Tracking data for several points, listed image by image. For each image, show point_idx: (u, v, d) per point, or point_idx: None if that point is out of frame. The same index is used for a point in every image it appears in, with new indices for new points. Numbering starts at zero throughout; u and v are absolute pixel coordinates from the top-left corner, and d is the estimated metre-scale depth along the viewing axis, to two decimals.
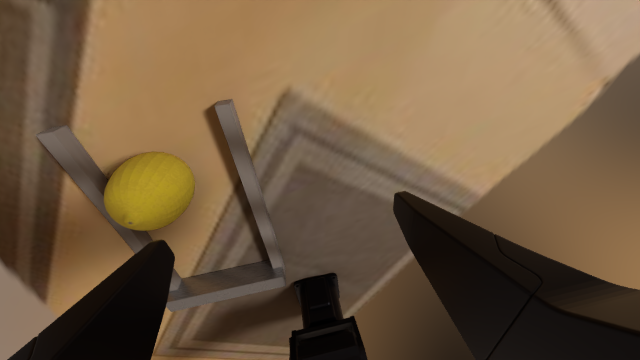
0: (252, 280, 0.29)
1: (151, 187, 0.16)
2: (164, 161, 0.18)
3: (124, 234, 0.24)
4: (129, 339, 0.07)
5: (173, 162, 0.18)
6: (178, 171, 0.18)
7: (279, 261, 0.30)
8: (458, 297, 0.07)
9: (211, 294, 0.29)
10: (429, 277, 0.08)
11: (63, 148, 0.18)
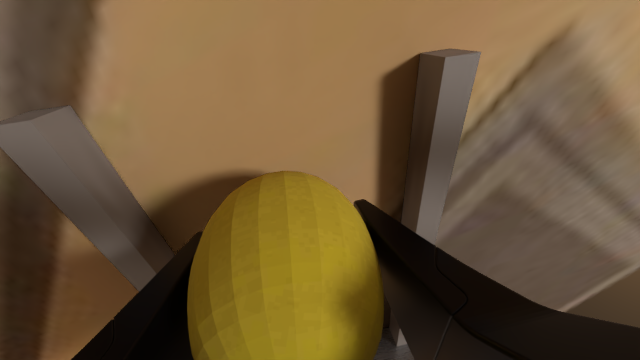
0: None
1: (355, 302, 0.05)
2: (335, 200, 0.07)
3: None
4: None
5: (346, 201, 0.07)
6: (364, 226, 0.07)
7: None
8: (403, 310, 0.07)
9: None
10: None
11: (60, 165, 0.07)
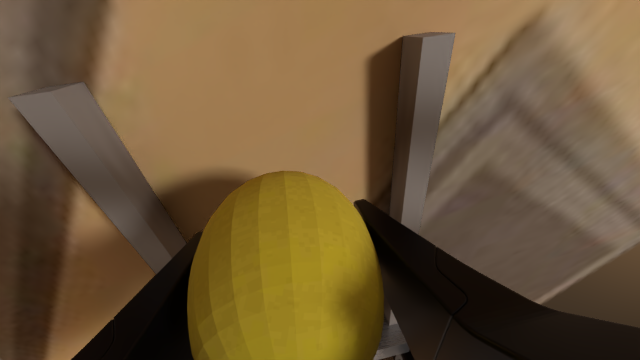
0: None
1: (355, 302, 0.05)
2: (335, 200, 0.07)
3: None
4: None
5: (346, 201, 0.07)
6: (364, 226, 0.07)
7: None
8: (404, 310, 0.07)
9: None
10: (383, 288, 0.08)
11: (76, 134, 0.08)
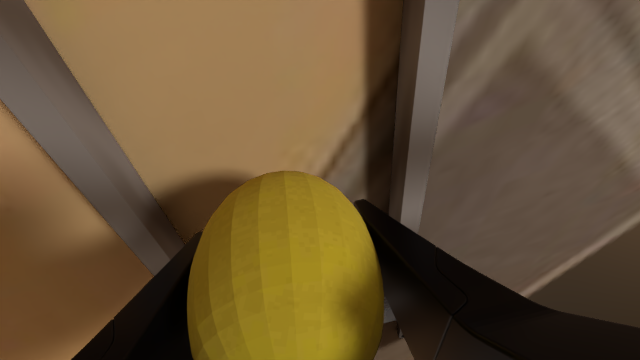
0: None
1: (355, 302, 0.05)
2: (335, 200, 0.07)
3: (111, 213, 0.10)
4: None
5: (346, 201, 0.07)
6: (364, 226, 0.07)
7: None
8: (403, 310, 0.07)
9: None
10: None
11: None
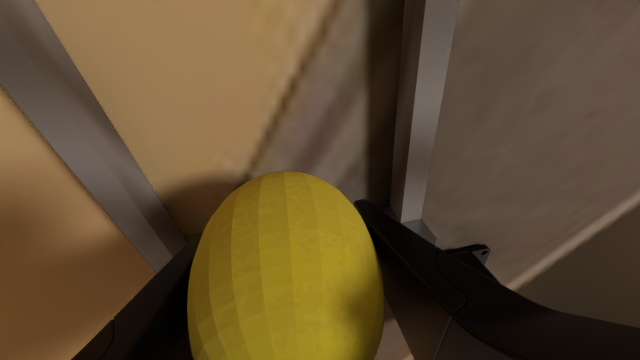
0: None
1: (355, 303, 0.05)
2: (335, 200, 0.07)
3: None
4: None
5: (346, 201, 0.07)
6: (364, 226, 0.07)
7: (420, 204, 0.13)
8: (403, 310, 0.07)
9: None
10: None
11: None
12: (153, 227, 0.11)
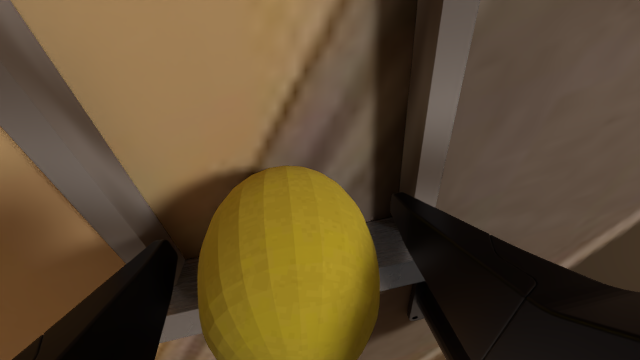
0: None
1: (353, 283, 0.05)
2: (334, 192, 0.07)
3: None
4: (134, 338, 0.07)
5: (345, 193, 0.08)
6: (361, 216, 0.07)
7: None
8: (454, 298, 0.07)
9: None
10: (426, 278, 0.08)
11: None
12: (144, 242, 0.10)
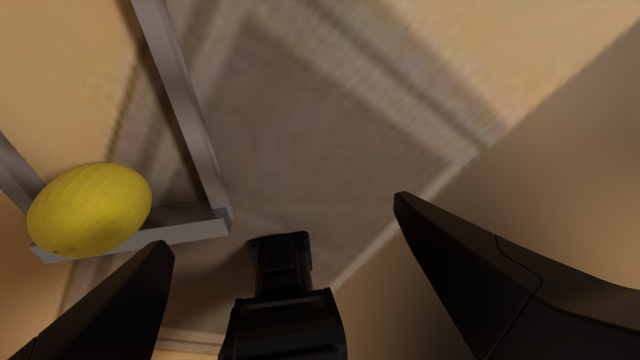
0: (176, 221, 0.19)
1: (88, 208, 0.13)
2: (111, 175, 0.15)
3: None
4: (129, 339, 0.07)
5: (124, 177, 0.16)
6: (128, 188, 0.15)
7: (220, 197, 0.20)
8: (458, 297, 0.07)
9: None
10: (429, 277, 0.08)
11: None
12: None
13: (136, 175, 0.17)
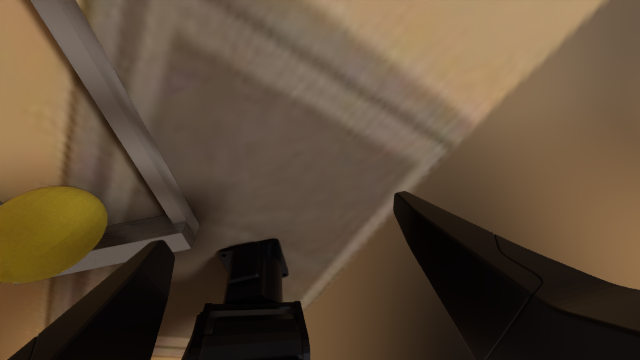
0: (136, 238, 0.20)
1: (25, 236, 0.14)
2: (55, 200, 0.15)
3: None
4: (129, 339, 0.07)
5: (70, 200, 0.16)
6: (73, 211, 0.16)
7: (179, 211, 0.20)
8: (458, 297, 0.07)
9: None
10: (429, 277, 0.08)
11: None
12: None
13: (86, 197, 0.17)
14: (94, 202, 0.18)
